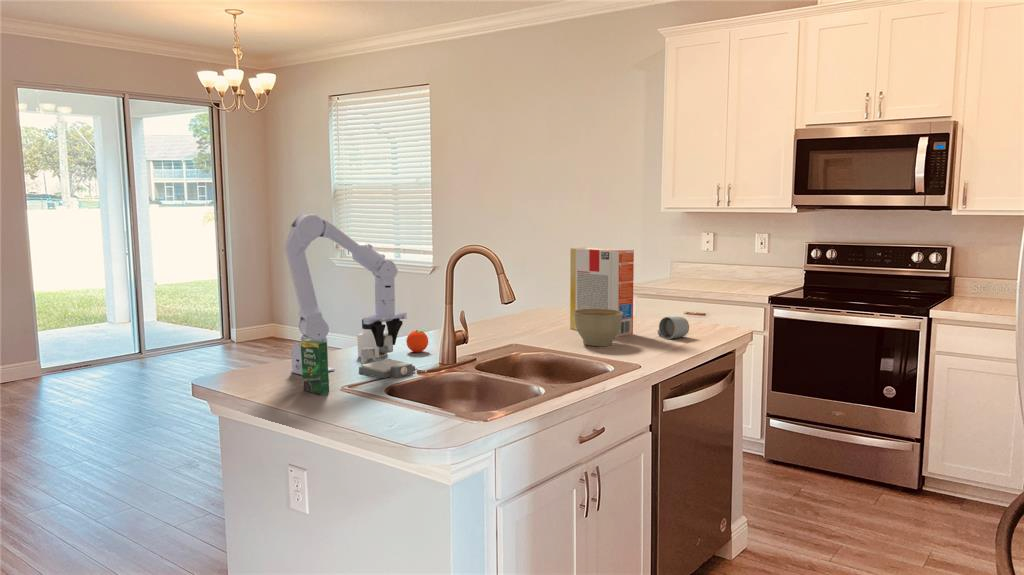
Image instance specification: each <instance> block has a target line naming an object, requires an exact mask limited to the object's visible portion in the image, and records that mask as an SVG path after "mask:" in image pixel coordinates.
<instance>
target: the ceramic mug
mask: <svg viewBox="0 0 1024 575" xmlns="http://www.w3.org/2000/svg"><path fill="white" fill-rule="evenodd" d="M689 331H690V324H689V321H688V320H687V318H686V317H684V316H664V317H663V318H661V320H660V322H659V323H658V329H657V334H658V336H661V337H662V338H663V339H665V340H671V339H679V338H683V337H686V336H687V335H688V333H689Z"/></svg>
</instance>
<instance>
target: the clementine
mask: <svg viewBox="0 0 1024 575" xmlns="http://www.w3.org/2000/svg"><path fill="white" fill-rule="evenodd" d="M426 333H427V334H429V332H428V331H426V330H420V329H419V330H418V329H416V330H413V331H411V332H410V333H409V334H408V335H407V337H406V346H407V348H408V349H409V350H410V351H412V352H413V353H421V352H423V351H425V350H426V349H427V347H428V345H429V337H428V335H427V334H426Z"/></svg>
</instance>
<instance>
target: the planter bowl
mask: <svg viewBox="0 0 1024 575" xmlns="http://www.w3.org/2000/svg"><path fill="white" fill-rule="evenodd" d="M574 316H575V324H576V328H577V330H576V331H577V332H578V334H579V336H580V337H581V339H582V342H583V344H584V345H587V346H591V347H592V346H593V347H594V346H595V347H606V346H612V344H613V341H614V340H615V338H617V337H616V335H617V334H618V332H619V330H620V327H621V323H622V316H623V312H621V311H618V310H612V309H580V310H575V311H574Z"/></svg>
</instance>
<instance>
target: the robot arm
mask: <svg viewBox="0 0 1024 575" xmlns="http://www.w3.org/2000/svg"><path fill="white" fill-rule="evenodd" d="M320 237H321V238H325V239H330V240H331V241H333V242H334V243H335V244H337V245H339V246H340V247H342V248H343V249H345V250H347V251H348V252H350V253H351V256H352V260H353V261H354V262H356V263H358V265H360V266H362V267H363V268H365V269H366V270H368V271H370V272H371V274H372V275H373V276H374V281H375V282H374V296H375V297H374V304H375V309H374V310H375V311H374V312H375V314H373V315H369V316H364V317H363V318H362V319H363V324H367V325H368V326H369V327H370V329H371V331H372V333H373V335H374V338H375V341H376V345H377V347H383V335H384V331H385V328H387V334H393V346H395V345H396V341H397V339H398V338H397V337H398V333H399V331H400V329H401V328H402V326H403V324H404V323H403V322H404V321H403V320H407V316H408V315H407V312H404V311H401V312H396V293H395V292H396V290H395V288H396V287H395V286H396V284H395V278H396V277H397V275H398V272H399V271H398V270H399V269H398V268H397V266H396V263H394V261H393V260H389V259H386V255H385V254H384V253H379V252H378V251H377V250H375V249H373V247H374V246H373V245H372V244H370V243H365V242H364V243H358V242H356V241H355V240H354V239H352V238H351V237H349V236H348V235H347V234H345V233H344V232H343V231H341V230H340V229H339V228H338V227H336V226H335V225H333V224H332V223H330V222H329V221H328V220H325V219H322V217H320V216H318V215H316V214H300V215H299V216H297V217H296V218H295V219H294V220H293V222H292V223H291V224H290V228H289V232H288V235H287V238H286V241H285V244H284V250H285V254H286V259H287V262H288V266H289V271H290V275H291V278H292V282H293V286H294V290H295V291H294V292H295V294H296V300H297V303H298V308H299V311H298V315H299V322H298V329H299V332H300V333H301V335H302V336H301V337H300V341H302V340H307V339H310V340H316V341H324V342H327V343H328V337H327V336H328V334H329V330H330V329H329V328H330V327H329V324H328V322H326V320H325V319H324V317H323V313H322V312H321V309H320V307H319V305H318V301H317V295H316V292H315V289H314V285H313V280H312V276H311V272H310V268H309V264H308V259H307V256H306V250H307V249H308V247H309V246H310V244H311V243H312V242H314V241H315V240H316V239H317V238H320ZM381 322H382V323H381ZM384 322H385V323H386V324H383V323H384ZM300 341H299V342H297V343H294V344H293V345H292V347H291V370H290V373H294V374H297V375H301V376H303V375H302V358H301V343H300ZM328 353H329V352H328V347H327V355H328ZM333 371H336V370H335V367H334V368H333V367H330V366H328V372H333Z"/></svg>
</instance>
